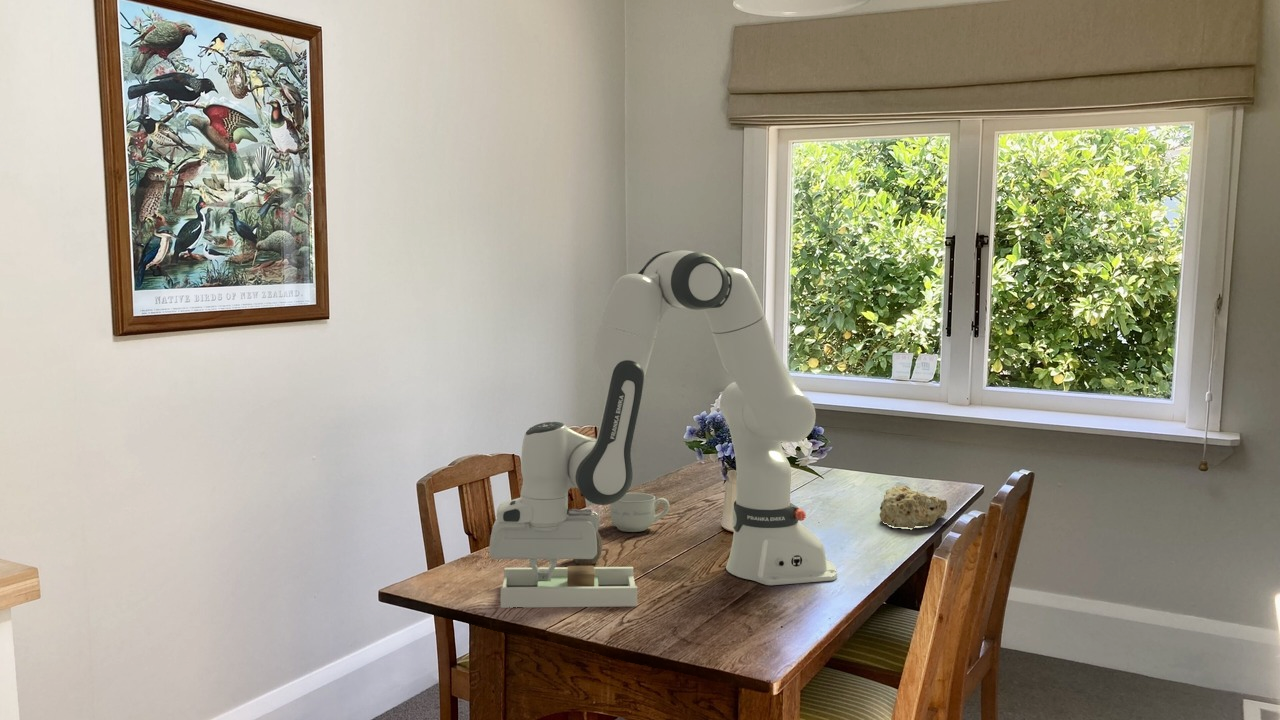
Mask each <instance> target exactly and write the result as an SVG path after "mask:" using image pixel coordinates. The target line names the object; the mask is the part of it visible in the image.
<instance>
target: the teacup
mask: <svg viewBox="0 0 1280 720" xmlns="http://www.w3.org/2000/svg"><path fill="white" fill-rule="evenodd" d="M661 503H663V504H664V506H665V507H664V509H663V511H662V512H660V513H658V514H656V509H657V508H658V505H659V504H661ZM609 505H610V506H609V507H610V512H609V513H610V520H611V524H613V526H614V527H617V529H618V530H619V531H621V532H629V533H630V532H631V533H638V532H643V531H646V530H647V529H648V528H649V527H651V526H652V525H653V523H656V522H657V521H658V520H659V519H661V518H662V517H664V516H666V514H668V512H669V510H670V507H671V506H670V503H669V500H668V499H666V498H664V497H659V498H656V496H655V495H653V494H650V493H644V492H627V493H626V494H625V495H624V496H623V497H622V498H621V499H620V500H618V501H616V502H614V503H612V504H609Z"/></svg>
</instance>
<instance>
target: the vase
mask: <svg viewBox="0 0 1280 720" xmlns="http://www.w3.org/2000/svg"><path fill="white" fill-rule="evenodd" d="M596 539H597V555H596V556H595V557H594V558H593V559H572V561H573V562H575V563H576V564H577V565H578V566H593V565H595V564H596V563H597V562H598V560H600V558H601V555H602V552H603V540H602V536H601V534H600V533H599V530H598V531H597V532H596Z"/></svg>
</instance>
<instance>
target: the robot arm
mask: <svg viewBox="0 0 1280 720" xmlns="http://www.w3.org/2000/svg"><path fill="white" fill-rule="evenodd" d="M671 308H674V309H683V310H685V309H689V310H696V311H698V310H702V311H703V313H704V314H705V316H706V318H707V322H708V325H709V329H710V332H711V335H712V337H713V338H712V339H713V341H714V343H715V347H716V350H717V353H718V355H719V359H720V363H721V365H722V367H723V368H724V370H725V371H726V372H727V373H728V374H729V376H730V377H731V378H732V380H733V382H731V383H730V384H728V385H727V386H726V387H725V388H724V390H723V392H722V393H721V396H720V399H719V408H720V412H721V414H722V416H723V418H724V420H725V422H726V424H727V427H728V429H729V433H730V436H731V437H730V438H731V442H732V446H733V447H732V448H733V451H734V457H735V458H734V459H735V465H736V466H735V467H736V481H735V482H736V483H735V485H736V488H735V489H736V491H735V501H734V502H733V508H732V528H733V536H732V543H731V547H730V553H729V557H728V560H727V563H726V566H725V568H726V571H727V572H728V573H729V574H731V575H733V576H736V577H737V578H740V579H745V580H751V581H754V582H757V583H760V584H763V585H765V586H779V585H790V584H792V585H793V584H804V583H816V582H829V581H835V580H837V577H838V571H837V568H836V566H835V564H834V563H833V562H832V561H830V560H829V559H827V554H826V550H825V547H824V544H823V542H822V540H821V539H820V538H819V536H817V535H816V534H815V533H813V532H812V531H811V530H810V529H808V528H807V527H806V526H804V524H802V523H801V522H802V521H804V520H805V519H806V517H807V514H806V512H805V511H804V510H803V509H801V508H799V507H798V506H797V505H795V504H793V502H791V494H792V493H791V489H792V488H791V487H792V467H791V464H790V462H789V460H788V458H787V457H786V453H785V452H784V449H783V446H782V444H783V443H785V444H787V443H789V444H790V443H798V442H801V441H803V440H804V439H806V438H807V437H808V436H809V435H810V434H811V433H812V431H813V429H814V428H815V424H816V417H817V416H816V415H817V414H816V408H815V406H814V404H813V402H812V401H811V399H809V398H808V397H807V396H806V394H804V392H803V391H801V389H800V388H799V386H798V385H797V383H796V381H795V380H794V379H793V377H792V375H791V374H790V372H789V370H788V368H787V367H786V365H785V363H784V362H783V359H782V358H781V356H780V354H779V351H778V350H777V347H776V345H775V343H774V342H775V341H774V339H773V335H772V333H771V330H770V327H769V324H768V321H767V318H766V314H765V312H764V308H763V306H762V302H761V301H760V298H759V295H758V293H757V291H756V289H755V287H754V285H753V283H752V282H751V279H750V278H749V276H748V274H747V273H746V272H745V271H744V270H743V269H740V268H738V267H733V266H732V267H724V266H723V264H721V263H720V262H719V261H718V260H717V259H716V258H715V257H713V256H711V255H710V254H707V253H704V252H700V251H694V250H693V251H692V250H685V249H683V250H681V249H680V250H676V251H671V250H670V251H669V250H667V251H663V252H660V253H658V254H655V255H654V256H652V257H651V258H650V259H649V260H648V261H647V262H646V263H645V265H644V266H643V268H642V269H641V270H639V272H638V273H629V274H628V273H627V274H624V275H622V276H620V277H619V278H618V279H616V281H615V283H614V285H613V286H612V289H611V291H610V293H609V295H608V297H607V300H606V301H605V304H604V307H603V310H602V313H601V315H600V316H601V317H600V319H599V322H598V326H597V330H596V333H595V338H594V344H593V345H594V346H593V361H594V364H595V366H596V368H597V370H598V372H599V374H600V377H601V380H602V383H603V386H604V388H603V389H604V402H603V403H604V404H603V409H602V414H601V418H600V423H599V427H598V430H597V431H598V432H597V436H596V438H595V437H591V436H588V435H583V434H581V433H579V432H576V431H575V430H573V429H571V428H570V427H568V426H567V425H566V424H564V423H563V422H560V421H547V422H541V423H538V424H535V425H533V426H532V427H529V428H528V430H527V431H526V432H525V434H524V437H523V440H522V447H521V456H520V458H521V460H520V471H521V472H520V473H521V475H522V485H521V489H520V497H518V498H517V497H516V498H514V499H511V500H508V501H503V502H502V503H499V505H498V507H497V509H496V519H495V521H494V523H493V525H492V529H491V534H490V538H489V549H488V554H489V556H490V557H491V558H492V559H493V560H529V566H530V568H532V569H533V571H534V572H535V581H536V582H538V581H544V582H551V573H552V571H553V570H554V568H555V567H557V565H558V560H573V559H593V558H594V557H595V556H596V555H597V539H596V532H597V531H598V532H599V528H600V516H599V515H598V513H596V512H595V511H592V509H589V508H586V509H585V508H584V509H578V508H568V506H569V505H568V504H569V490H570V489H576V488H577V489H578V490H579V492H580V493H581V495H582V496H583V498H585V500H587V501H588V502H589V503H592V504H594V505H599V506H608V505H610V504H612V503H614V502H616V501H618V500H620V499H621V498H622V497H623V496H624V495H625V494H626V493H628V491H629V489H630V488H631V486H632V481H633V465H632V456H631V453H632V444H633V438H634V435H635V429H636V425H637V419H638V415H639V410H640V406H641V400H642V393H643V388H644V383H645V379H646V376H647V375H646V374H647V371H648V368H649V367H648V366H649V363H650V360H651V356H652V353H653V349H654V345H655V341H656V338H657V334H658V329H659V325H660V323H661V320H662V318H663V316H664V315H665V314H666V313H667V312H668V310H670V309H671ZM799 521H801V522H799ZM538 560H549V566H548V567H549V568H548V570H539V569H538V565H537V564H538Z"/></svg>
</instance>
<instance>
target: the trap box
mask: <svg viewBox="0 0 1280 720" xmlns="http://www.w3.org/2000/svg"><path fill="white" fill-rule="evenodd" d="M537 567H538V566H537ZM549 567H550V566H548V567H538V569H539V570H548V568H549ZM567 573H568V566H567V567H564V566H562V567H561V566H556V567H555V568H554V570H553V571H552V573H551V582H544V581H538V582H536V581H535V572H534V571H533V569H532V567H504V577H503V582H502V587H500V608H501V609H505V608H506V609H508V608H509V607H510V608H511V609H512V608H513V607H516V608H515V609H518V608H517V607H523V608H590V607H592V608H597V607H598V608H601V607H603V608H604V607H606V608H607V607H608V608H609V607H612V608H613V607H614V608H615V607H638V595H639V594H638V590H639V589H638V588H639V587H638V585H636V583H635V582H636V581H635V577H634V566H594V586H591V587H567ZM510 608H509V609H510Z"/></svg>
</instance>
